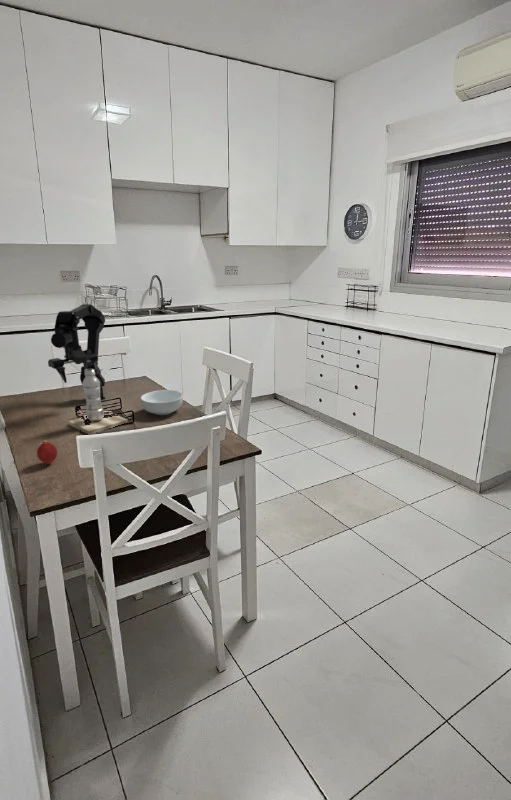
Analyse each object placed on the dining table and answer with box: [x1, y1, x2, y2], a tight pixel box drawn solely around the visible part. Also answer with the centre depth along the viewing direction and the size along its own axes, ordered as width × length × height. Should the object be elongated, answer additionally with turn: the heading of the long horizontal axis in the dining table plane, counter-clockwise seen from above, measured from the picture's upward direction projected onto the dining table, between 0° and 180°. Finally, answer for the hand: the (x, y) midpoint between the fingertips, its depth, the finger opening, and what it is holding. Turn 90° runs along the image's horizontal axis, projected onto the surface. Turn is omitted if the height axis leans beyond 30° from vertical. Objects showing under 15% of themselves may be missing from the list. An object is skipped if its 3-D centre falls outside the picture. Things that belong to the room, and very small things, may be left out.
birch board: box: [68, 415, 129, 435], centre depth 179 cm, size 16×16×2 cm
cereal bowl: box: [140, 389, 184, 416], centre depth 191 cm, size 17×17×7 cm
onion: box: [36, 440, 58, 465], centre depth 145 cm, size 6×6×8 cm
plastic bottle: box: [81, 369, 104, 421], centre depth 176 cm, size 6×7×20 cm
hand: (76, 380), depth 192 cm, fingers open, 9 cm apart
